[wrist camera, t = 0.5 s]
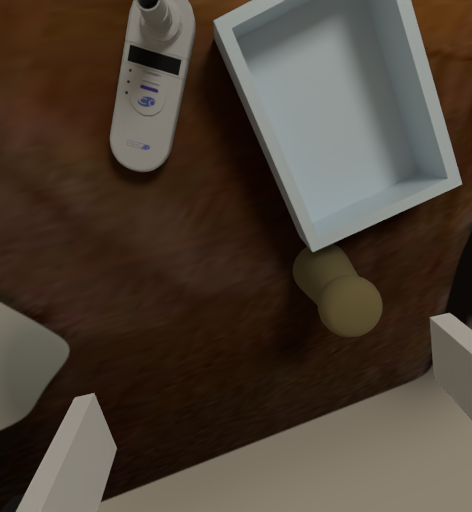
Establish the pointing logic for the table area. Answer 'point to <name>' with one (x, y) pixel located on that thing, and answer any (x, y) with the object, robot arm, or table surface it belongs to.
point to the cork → (338, 291)
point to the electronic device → (151, 82)
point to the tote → (340, 109)
